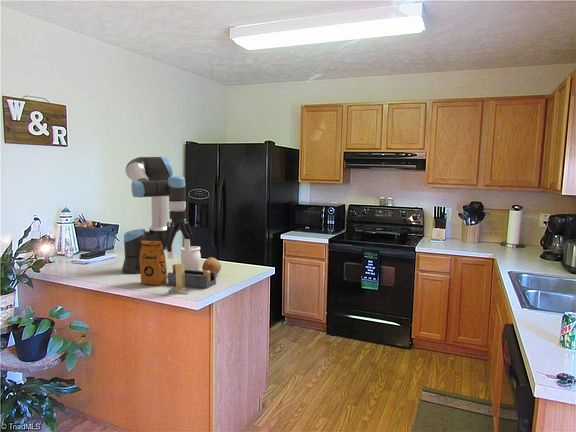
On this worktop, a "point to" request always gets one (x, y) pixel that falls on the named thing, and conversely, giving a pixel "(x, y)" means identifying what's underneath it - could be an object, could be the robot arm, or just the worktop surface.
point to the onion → (212, 265)
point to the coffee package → (152, 263)
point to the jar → (191, 258)
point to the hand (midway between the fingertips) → (179, 255)
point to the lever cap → (180, 281)
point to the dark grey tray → (194, 278)
